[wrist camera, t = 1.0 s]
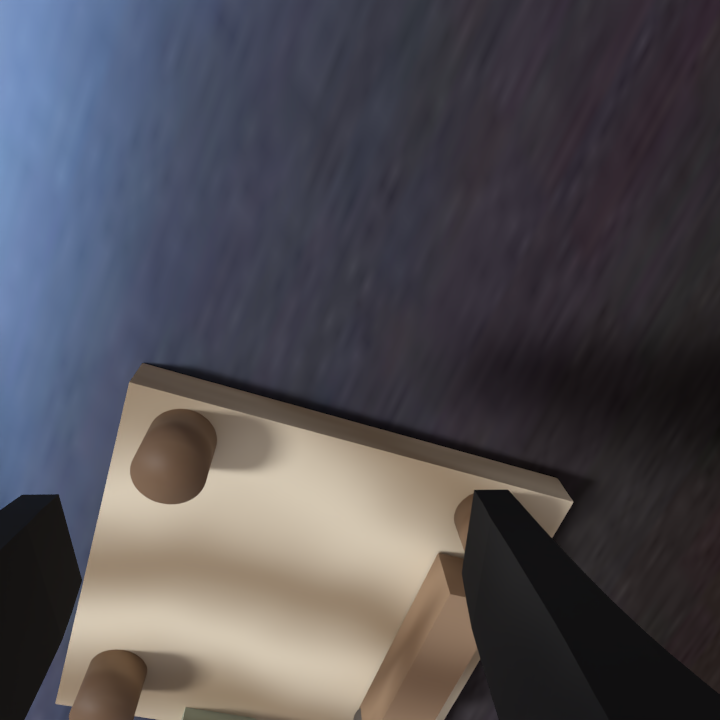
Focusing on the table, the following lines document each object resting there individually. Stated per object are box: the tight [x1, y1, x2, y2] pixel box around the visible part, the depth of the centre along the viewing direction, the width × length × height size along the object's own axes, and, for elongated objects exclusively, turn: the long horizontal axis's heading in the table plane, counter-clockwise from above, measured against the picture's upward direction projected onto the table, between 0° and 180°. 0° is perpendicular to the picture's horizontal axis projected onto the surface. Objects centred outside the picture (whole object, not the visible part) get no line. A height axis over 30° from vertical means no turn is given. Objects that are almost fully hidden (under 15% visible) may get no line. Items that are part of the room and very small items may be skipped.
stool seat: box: [55, 363, 573, 720], centre depth 22 cm, size 15×16×4 cm
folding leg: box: [353, 553, 477, 720], centre depth 22 cm, size 10×2×2 cm, turn 160°
